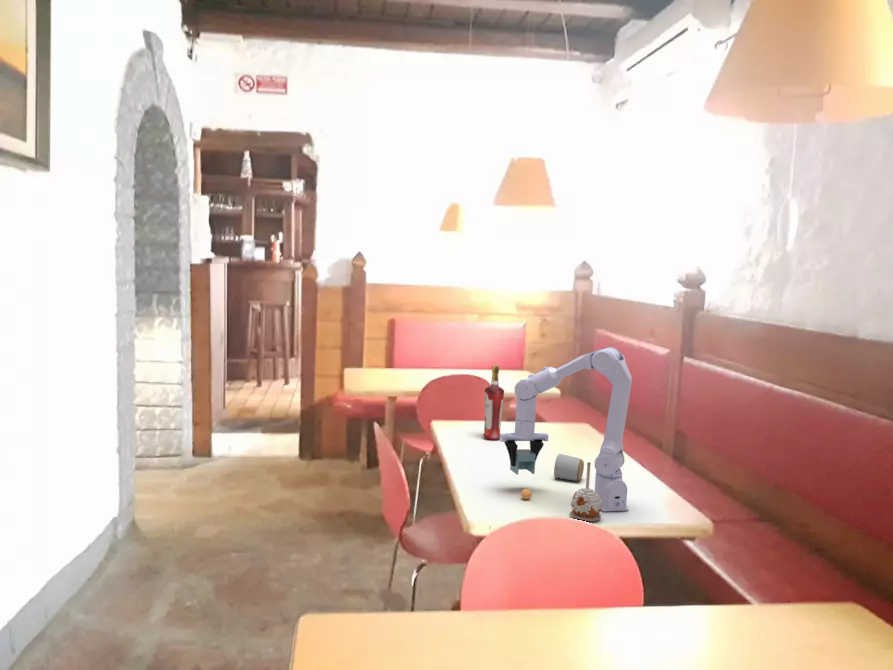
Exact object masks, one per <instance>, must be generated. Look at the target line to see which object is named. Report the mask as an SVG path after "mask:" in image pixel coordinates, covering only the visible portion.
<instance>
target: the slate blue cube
mask: <svg viewBox="0 0 893 670" xmlns="http://www.w3.org/2000/svg"><path fill="white" fill-rule="evenodd" d="M535 458H536V454H535V453H534V452H532V451H531V450H530V448H529V449H526V448H523V449H521V448H520V449H519V448H517V451H516V463H515V466H512V465H510V466H509V470H511V471H512V473H514V474H515V475H519V471H520V470H527V471H528V472H529V473H530V474H532V475H535V472H536V462H535Z"/></svg>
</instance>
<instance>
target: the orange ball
mask: <svg viewBox="0 0 893 670" xmlns="http://www.w3.org/2000/svg"><path fill="white" fill-rule="evenodd" d="M532 495H533V493H532V491H531V490H530V489H529V488H525V489H523V490H521V493H520V496H521V498H522V499H523V500H525V499H528V500H530V499H531V498H532Z"/></svg>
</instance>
